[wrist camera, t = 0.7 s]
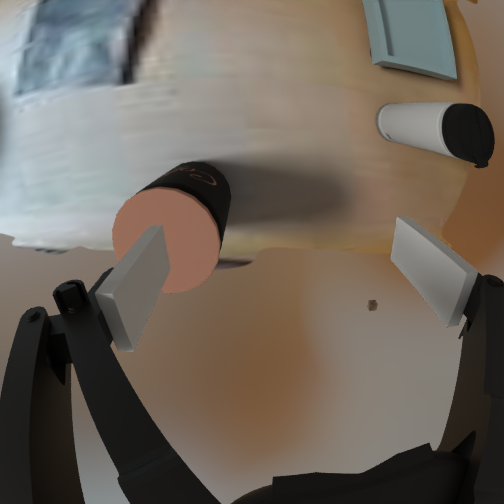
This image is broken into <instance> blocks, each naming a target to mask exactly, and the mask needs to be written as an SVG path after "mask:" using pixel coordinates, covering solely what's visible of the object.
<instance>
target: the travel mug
mask: <svg viewBox="0 0 504 504" xmlns="http://www.w3.org/2000/svg"><path fill="white" fill-rule="evenodd" d="M376 126H377V129H378V131H379V133H380V134H381V136H382V137H383V138H385V139H386V140H388V141H390V142H395V143H400V144H404V145H409V146H413V147H417V148H421V149H425V150H429V151H433V152H437V153H440V154H444V155H447V156H451V157H454V158H458V159H463V160H466V161H469V162H472V163H475V164H477V165H475V167H476V168H484V167H487V166H488V160H489V159H490V158H491V156H492V154H493V150H494V144H495V141H494V140H495V139H494V131H493V128H492V125H491V122H490V120H489V118H488V116H487V115H486V113H485V112H484V111H483V110H482V109H481V108H479V107H477V106H474V105H473V104H461V103H450V102H415V103H392V104H386V105H384V106H382V107H381V108H380V109H379V111H378V113H377V116H376Z"/></svg>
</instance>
